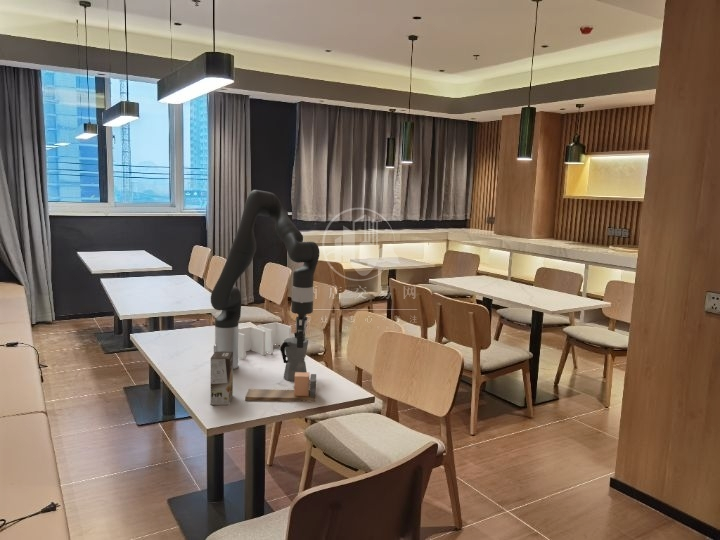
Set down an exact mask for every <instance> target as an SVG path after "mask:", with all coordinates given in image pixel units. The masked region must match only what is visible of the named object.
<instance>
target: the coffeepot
mask: <svg viewBox="0 0 720 540" xmlns="http://www.w3.org/2000/svg"><path fill="white" fill-rule="evenodd" d="M293 334H294V337H292V336H291V338H287V339H285V340H284V343H283V344H282V345H281V347H280V353H281V357H282V361H283V363H284V364H285V367H284V368H285V369H284V373H283V379H284V380H285V381H288V382H294V380H295V372H307V364H306V361H305V358H306V355H307V351H308V344H309V339H308V337H305V341H304V342H303V348H297V337H296V334H297V332H294V333H293Z"/></svg>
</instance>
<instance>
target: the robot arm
mask: <svg viewBox="0 0 720 540" xmlns="http://www.w3.org/2000/svg"><path fill="white" fill-rule="evenodd" d="M243 207H244V208H243V212H242V215H241V218H240V219H241V220H240V223H239V224H238V225H239V226H238V229H237V231H236V234H235V236H234V239H233V241H232V244H231V247H230V249H229V251H228V255H227V257H226V261H225V263H224V265H223V268H222V271H221V274H220V275H219V277H218V279H217V281H216V283H215V284H214V287H213V289H212V292H211V294H210V304H211V307H212V308H213V309H214V310H215V311H221V312H220V314H219V315H218V316H217V317H216V318H214V319H215V320H214V345H213V354H214V353H215V352H221V351H230V352H233V370H235V369H237V368H238V367H239V358H238V329H239V322H240V319H241V314H242V313H241V312H242V293H241V291H240V289H239V288H238V286H236V285H235V284H236V283H237V281H238V279H239V278H240V277H241V276H242V275H243V274H244V273H245V272H246V271H247V270H248V268H249V267H250V265H251V264H252V261H253V259H254V256H255V254H256V252H257V241H256V237H255V231H254V226H255V223H256V219H257V217H258V216H260V217H261V216H262V217H268V218H270V219H271V220H273V221H274V223H275V226H274V227H275V232H276V234H277V237H278V238H279V239H280V241H282V243H283V244H284V245H285V249H286V251H287V254H288V257H289V259H290V260H291V261H293V262H295V263H303V264H302V266H301V267H299V268H297V269H295V270H294V271H293V275H292V290H291V307H290V308H291V309H290V311H291V312H292V314H297V316H296V318H295V331H296V333H297V334H296V337H297V348H303V342H304V341H305V338H306V331H307V327H308V320H309V319H308V316H307V315H310V314H313V311H314V295H315V294H314V275H315V273H316V268H317V265H318V262H319V258H320V248H319V246H318V244H317V243H316V242H315V241H304V236H303V234H302V232H301V231H300V230H299V229H298V227H297V226H296V225H295V224H294V222H293V221H292V220H291V219H290V218H289V216H288V214H287V212H286V210H285V209H284V207H283V205H282V203H281V201H280V199H279V198H278V196H277V195H276V194H275V193H273V192H270V191H264V190H258V189H253V190H251V191H250V193H249V194H248V196H247V198H246V199H245V205H244V206H243Z"/></svg>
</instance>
